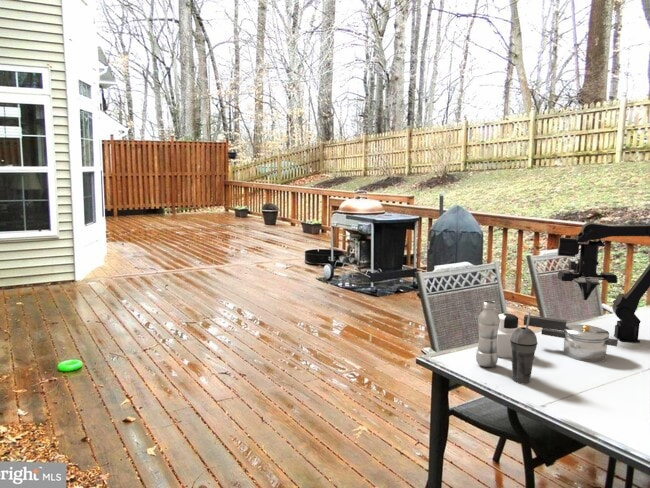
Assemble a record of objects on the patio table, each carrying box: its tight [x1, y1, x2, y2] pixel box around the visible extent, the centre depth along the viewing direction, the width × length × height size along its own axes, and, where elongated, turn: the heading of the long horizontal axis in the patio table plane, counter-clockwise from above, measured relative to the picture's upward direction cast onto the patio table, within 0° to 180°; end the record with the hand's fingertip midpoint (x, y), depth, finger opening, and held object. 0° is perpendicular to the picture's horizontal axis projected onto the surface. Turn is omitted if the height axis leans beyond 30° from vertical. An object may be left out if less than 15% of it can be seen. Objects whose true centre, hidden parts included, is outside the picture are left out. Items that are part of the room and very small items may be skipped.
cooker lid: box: [523, 314, 610, 341], centre depth 169 cm, size 26×13×3 cm, turn 60°
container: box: [497, 313, 519, 358], centre depth 167 cm, size 8×8×13 cm
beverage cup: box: [510, 311, 538, 385], centre depth 145 cm, size 7×7×20 cm
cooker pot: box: [540, 328, 619, 363], centre depth 168 cm, size 22×13×7 cm, turn 57°
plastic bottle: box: [475, 300, 500, 368], centre depth 156 cm, size 6×7×20 cm
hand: (585, 300), depth 186 cm, fingers closed
